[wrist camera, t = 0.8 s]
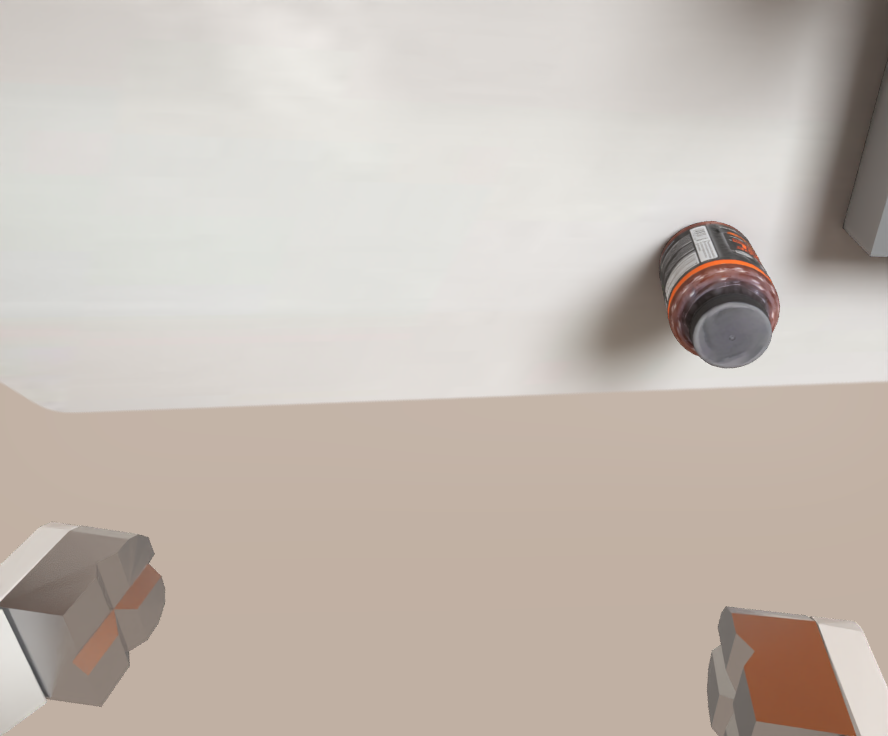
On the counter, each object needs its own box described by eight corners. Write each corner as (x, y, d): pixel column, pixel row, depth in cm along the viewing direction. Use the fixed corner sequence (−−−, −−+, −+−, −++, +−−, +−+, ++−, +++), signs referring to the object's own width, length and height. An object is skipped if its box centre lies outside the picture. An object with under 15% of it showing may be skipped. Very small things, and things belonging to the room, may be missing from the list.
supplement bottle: (771, 261, 45) (819, 341, 35) (696, 317, 48) (721, 405, 38) (712, 198, 43) (745, 264, 34) (638, 260, 46) (650, 336, 37)
